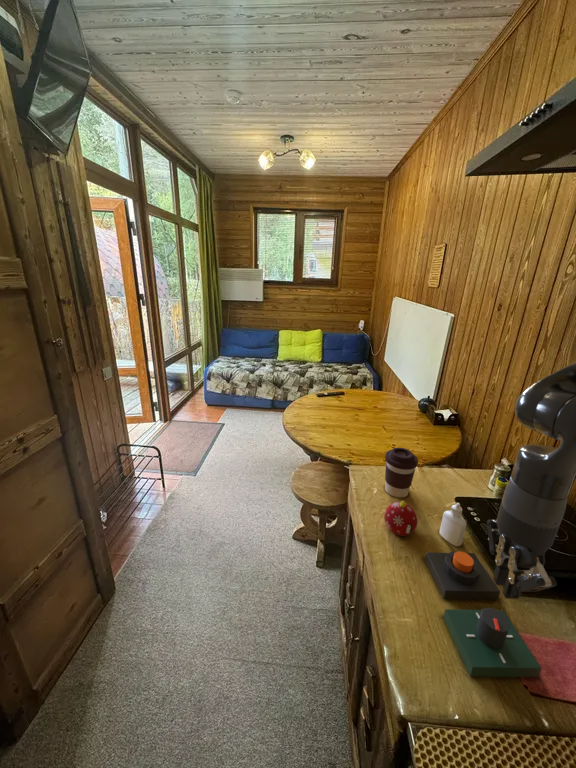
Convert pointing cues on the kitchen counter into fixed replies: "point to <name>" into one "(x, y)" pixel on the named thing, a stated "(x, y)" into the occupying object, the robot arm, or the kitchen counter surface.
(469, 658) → the green dial base plate
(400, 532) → the christmas ornament
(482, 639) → the knob
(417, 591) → the kitchen counter surface
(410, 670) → the kitchen counter surface
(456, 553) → the orange button cap
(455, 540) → the eye dropper bottle
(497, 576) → the robot arm
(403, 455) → the coffee cup
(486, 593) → the block
